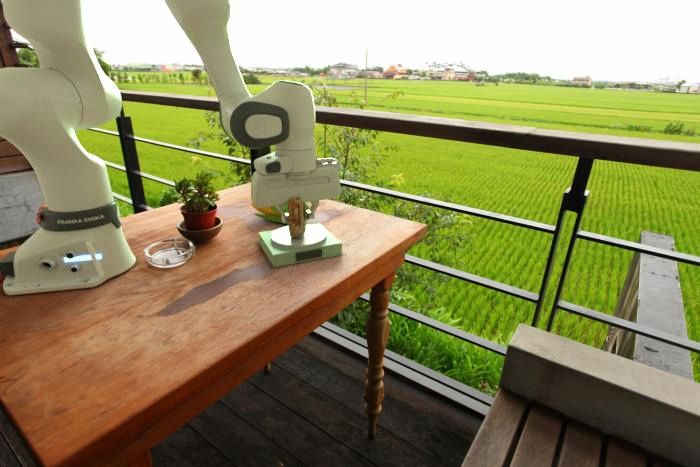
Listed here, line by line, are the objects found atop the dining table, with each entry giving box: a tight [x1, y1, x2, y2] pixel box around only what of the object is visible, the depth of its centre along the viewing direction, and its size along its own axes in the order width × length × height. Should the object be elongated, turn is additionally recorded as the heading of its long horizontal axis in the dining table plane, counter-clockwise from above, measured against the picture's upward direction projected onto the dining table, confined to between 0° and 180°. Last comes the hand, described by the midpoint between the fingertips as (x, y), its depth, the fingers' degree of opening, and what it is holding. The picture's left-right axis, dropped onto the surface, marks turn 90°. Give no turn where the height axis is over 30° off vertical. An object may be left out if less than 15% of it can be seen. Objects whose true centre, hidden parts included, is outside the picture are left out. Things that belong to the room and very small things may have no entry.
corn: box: [251, 202, 310, 225], centre depth 109 cm, size 7×8×20 cm
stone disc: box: [288, 197, 307, 238], centre depth 89 cm, size 10×4×10 cm, turn 0°
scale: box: [257, 222, 343, 268], centre depth 91 cm, size 16×14×4 cm
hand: (298, 220), depth 89 cm, fingers closed on stone disc, 4 cm apart
